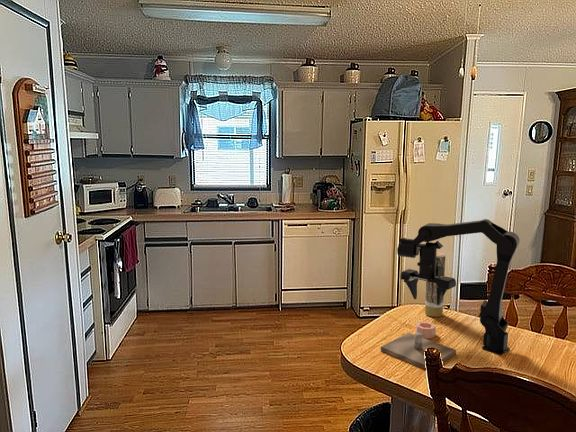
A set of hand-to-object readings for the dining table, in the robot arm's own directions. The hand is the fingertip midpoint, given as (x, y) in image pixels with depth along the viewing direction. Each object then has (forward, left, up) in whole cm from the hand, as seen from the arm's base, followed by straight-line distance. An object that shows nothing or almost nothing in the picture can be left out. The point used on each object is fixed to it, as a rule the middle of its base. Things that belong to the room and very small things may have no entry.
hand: (426, 301), depth 159 cm
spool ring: (0, +1, -12) cm, 12 cm away
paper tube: (+8, -18, -12) cm, 23 cm away
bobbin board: (-6, +15, -12) cm, 20 cm away
